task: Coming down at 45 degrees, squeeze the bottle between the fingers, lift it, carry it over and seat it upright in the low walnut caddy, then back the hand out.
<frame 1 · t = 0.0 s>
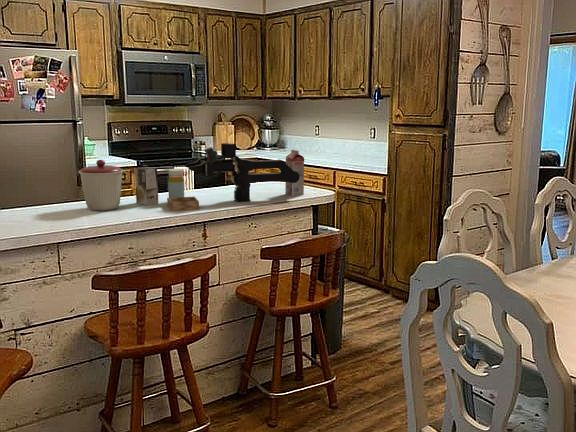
hand: (187, 167, 252), 17 cm above the table, tool horizontal, fingers open, 9 cm apart
canister: (103, 209, 242), on the table
coffee box: (147, 203, 254), on the table
juice carton: (294, 194, 281), on the table
bottle: (176, 202, 257), on the table
caddy: (183, 207, 246), on the table
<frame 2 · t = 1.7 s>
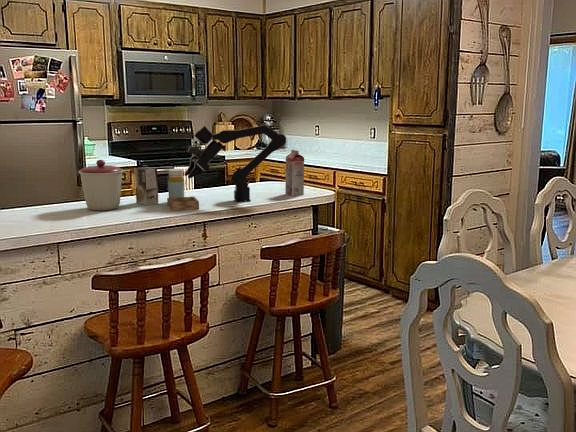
hand: (186, 176, 256), 12 cm above the table, tool tilted 45°, fingers open, 9 cm apart
nothing on the table moved.
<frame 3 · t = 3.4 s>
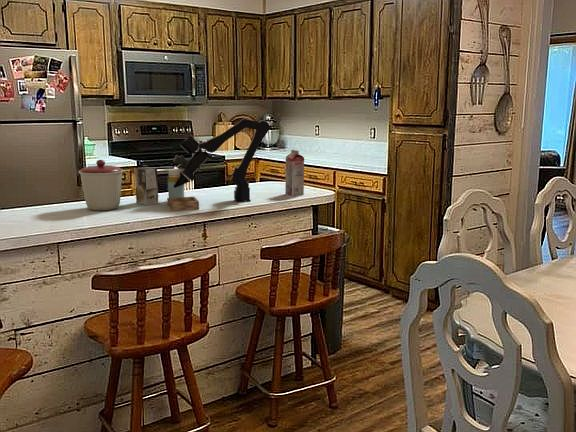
hand: (173, 185, 255), 8 cm above the table, tool tilted 45°, fingers closed on bottle, 7 cm apart
bottle: (176, 202, 257), on the table, touching gripper
everything else where it was.
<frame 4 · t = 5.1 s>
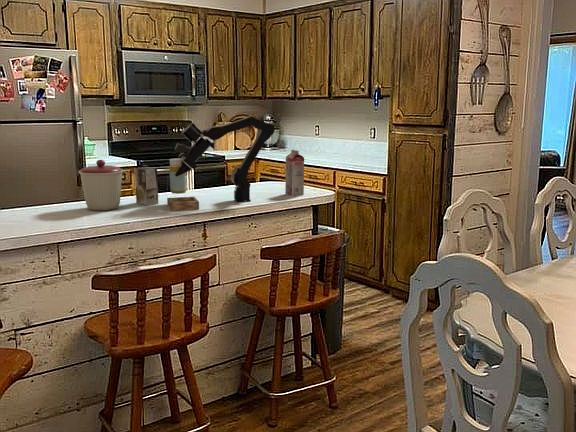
hand: (174, 174, 251), 13 cm above the table, tool tilted 45°, fingers closed on bottle, 7 cm apart
bottle: (178, 192, 253), point 5 cm above the table, touching gripper
everything else where it was.
when the fingers open (10 cm above the table, at t = 7.1 s): bottle stays where it is, resting on caddy.
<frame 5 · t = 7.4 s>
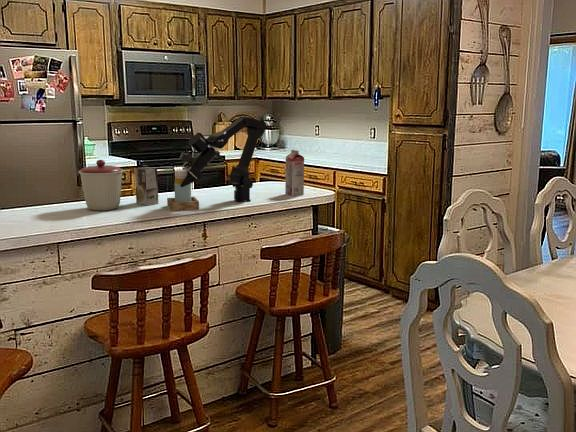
hand: (179, 184, 243), 10 cm above the table, tool tilted 45°, fingers open, 9 cm apart
bottle: (183, 205, 246), point 1 cm above the table, touching caddy
everything else where it was.
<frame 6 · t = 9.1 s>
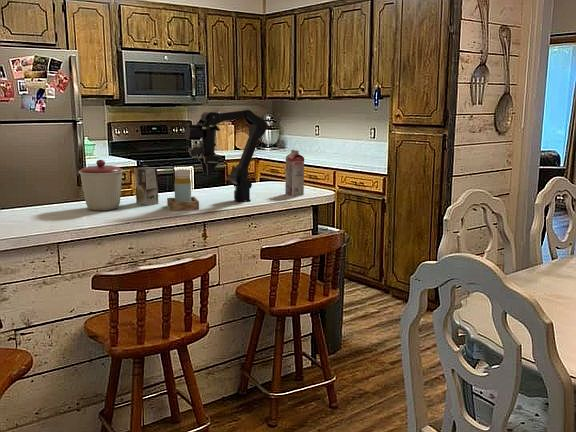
hand: (206, 175, 251), 13 cm above the table, tool pointing down, fingers open, 9 cm apart
nothing on the table moved.
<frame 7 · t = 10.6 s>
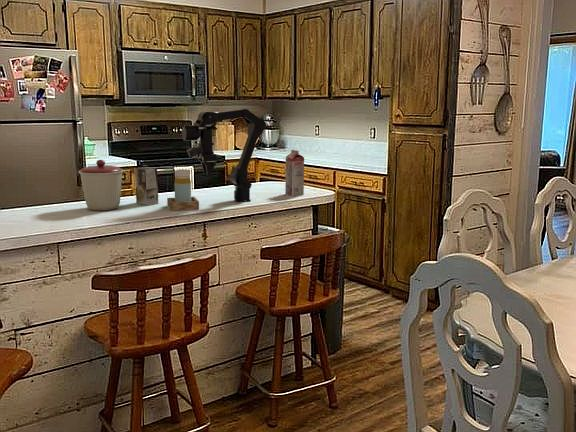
hand: (207, 175, 252), 13 cm above the table, tool pointing down, fingers open, 9 cm apart
nothing on the table moved.
at the end: bottle inside the target area on the caddy (0.4 cm from its centre), point 1.0 cm above the caddy's base; bottle tilted 0°; the gripper is holding nothing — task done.
